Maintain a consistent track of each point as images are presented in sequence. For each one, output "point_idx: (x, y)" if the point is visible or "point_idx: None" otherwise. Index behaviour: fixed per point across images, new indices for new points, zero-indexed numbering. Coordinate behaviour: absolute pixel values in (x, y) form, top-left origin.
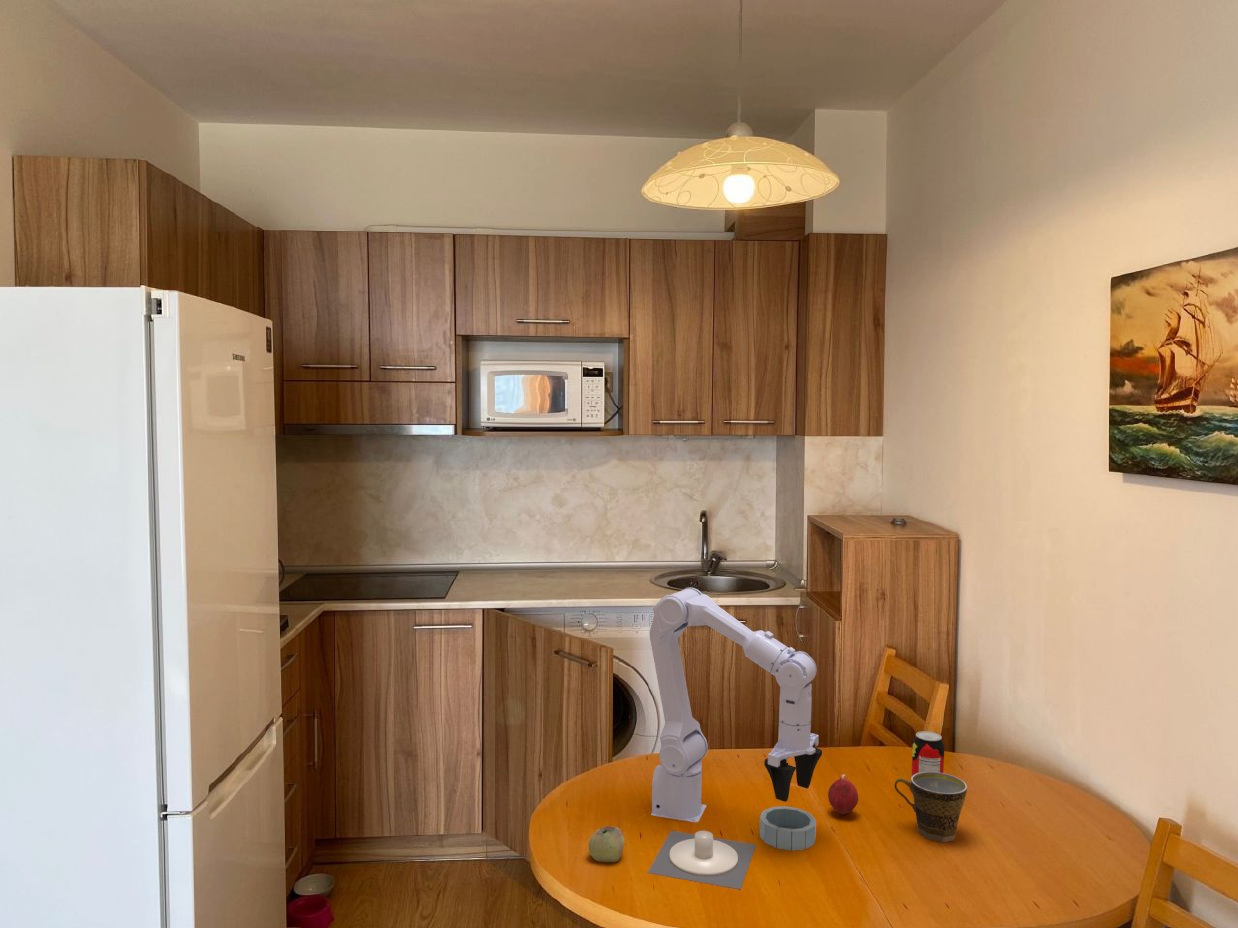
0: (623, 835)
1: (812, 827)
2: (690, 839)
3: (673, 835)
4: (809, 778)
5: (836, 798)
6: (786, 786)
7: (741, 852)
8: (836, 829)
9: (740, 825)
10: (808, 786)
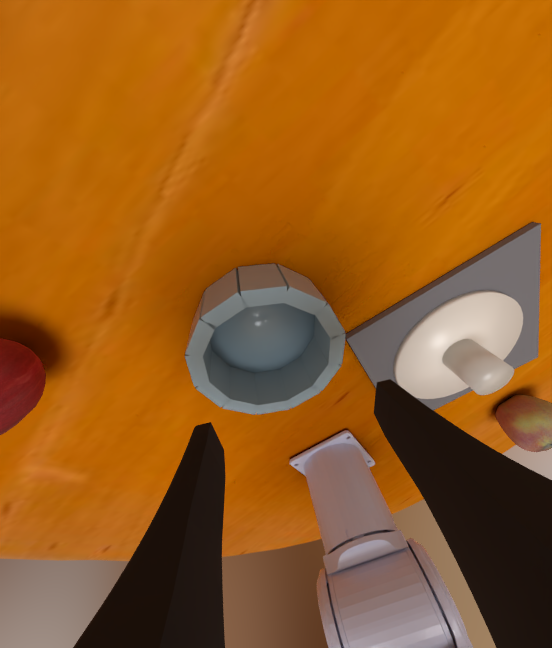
0: (540, 428)
1: (250, 289)
2: (419, 397)
3: None
4: (200, 468)
5: (19, 382)
6: (470, 435)
7: (395, 330)
8: (100, 301)
9: None
10: (202, 429)
